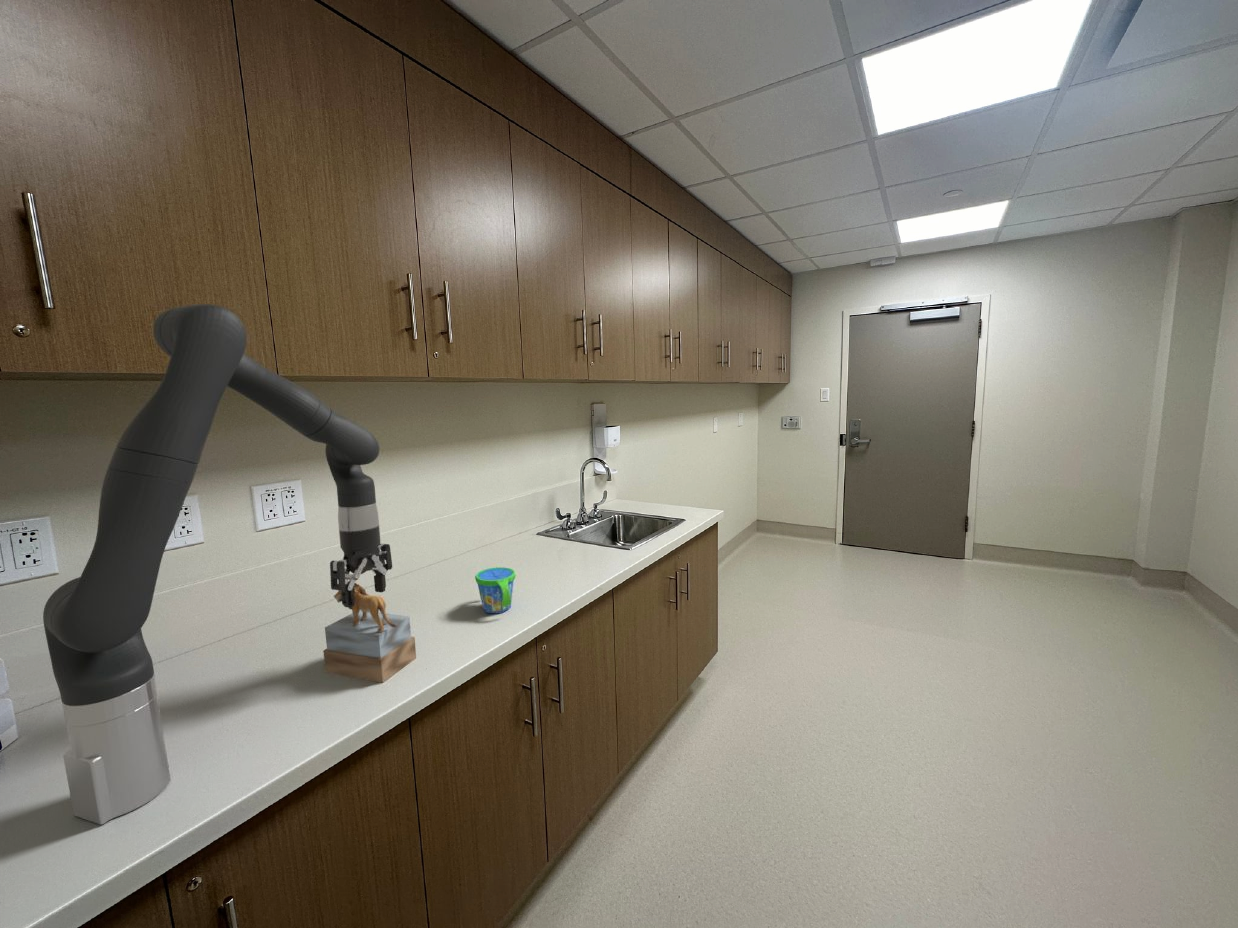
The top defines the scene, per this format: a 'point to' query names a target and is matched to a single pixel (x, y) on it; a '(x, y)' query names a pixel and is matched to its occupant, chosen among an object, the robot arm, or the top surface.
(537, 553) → the top surface
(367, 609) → the lion figurine
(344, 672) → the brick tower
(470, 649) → the top surface
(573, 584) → the top surface
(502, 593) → the snack cup
